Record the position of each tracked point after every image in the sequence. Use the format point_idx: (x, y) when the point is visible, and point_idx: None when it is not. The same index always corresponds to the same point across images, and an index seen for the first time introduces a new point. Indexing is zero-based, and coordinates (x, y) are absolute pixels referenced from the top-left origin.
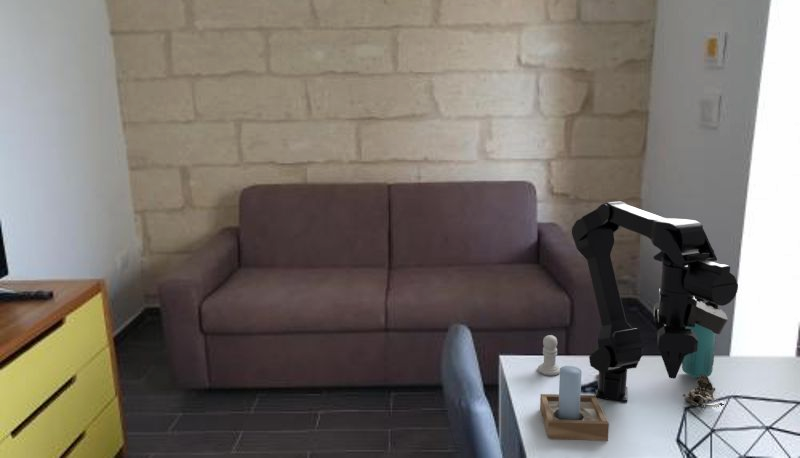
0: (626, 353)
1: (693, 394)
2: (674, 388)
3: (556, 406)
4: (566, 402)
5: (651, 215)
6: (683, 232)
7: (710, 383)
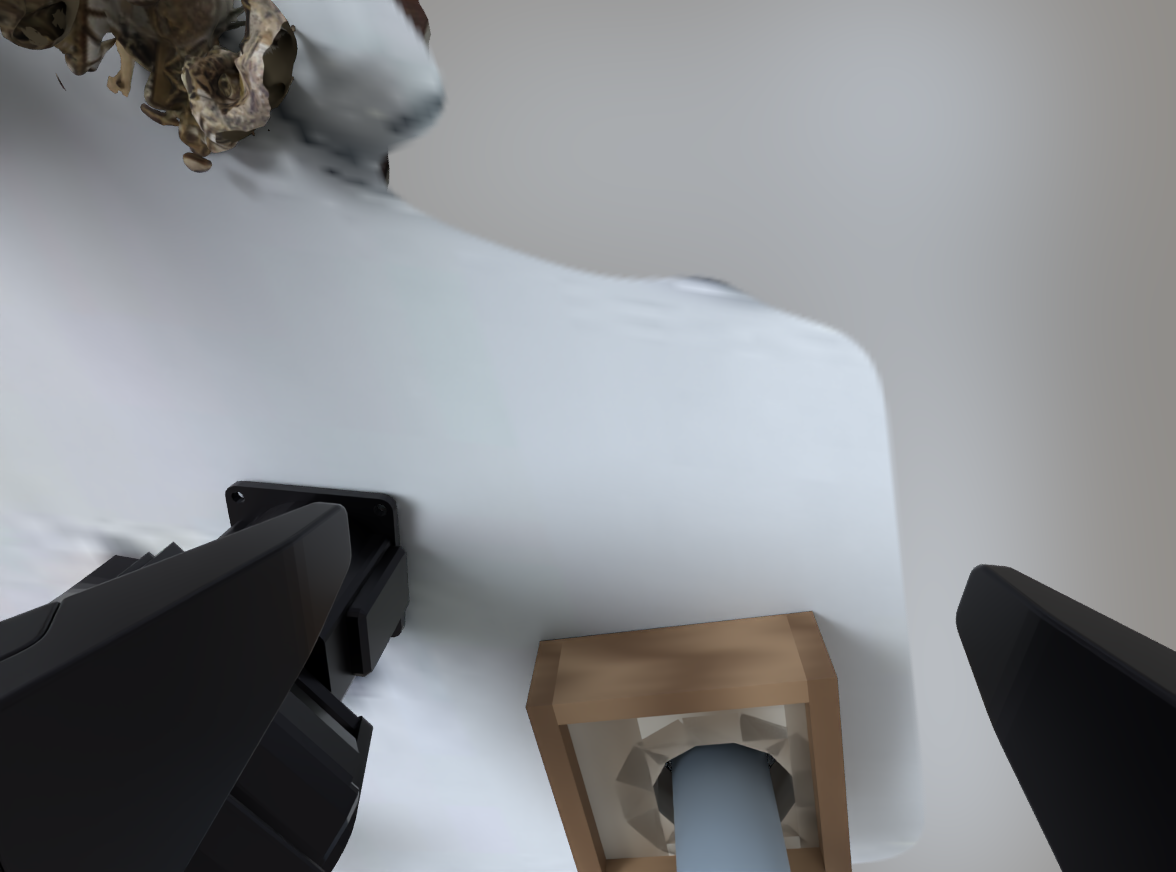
0: (255, 776)
1: (254, 114)
2: (80, 200)
3: (649, 829)
4: None
5: None
6: None
7: None
